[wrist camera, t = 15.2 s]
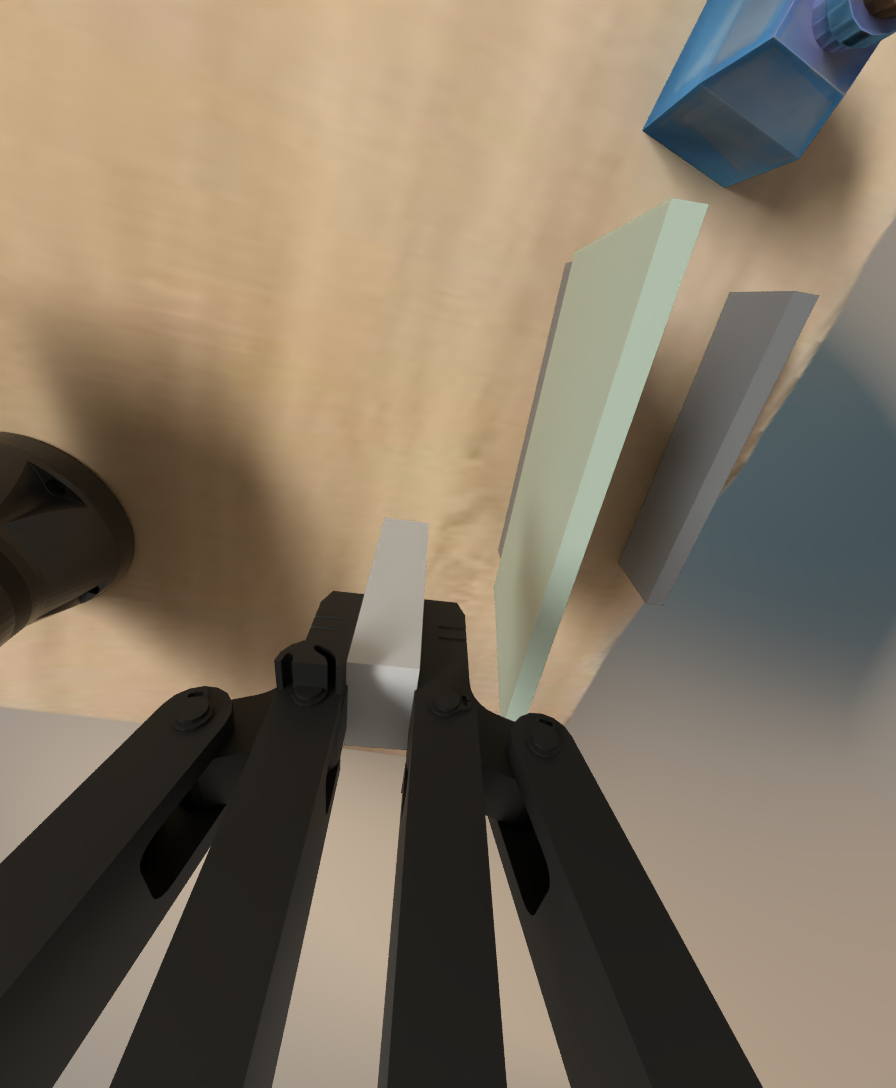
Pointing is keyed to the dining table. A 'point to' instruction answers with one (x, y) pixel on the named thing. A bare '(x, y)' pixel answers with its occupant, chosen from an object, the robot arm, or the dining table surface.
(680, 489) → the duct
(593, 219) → the dining table surface
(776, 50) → the perfume bottle
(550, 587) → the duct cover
